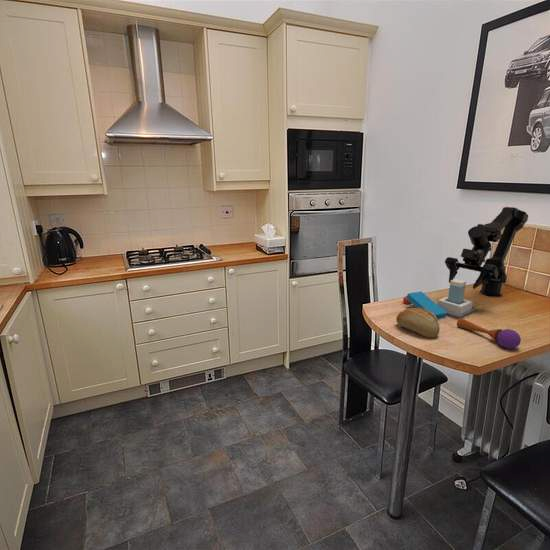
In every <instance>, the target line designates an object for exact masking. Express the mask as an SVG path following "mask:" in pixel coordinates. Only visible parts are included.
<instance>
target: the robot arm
mask: <svg viewBox="0 0 550 550" xmlns="http://www.w3.org/2000/svg"><path fill="white" fill-rule="evenodd" d="M528 220H529V214H528V213H527V212H526V211H523V210H521V209H519V208H517V207H510V206H505V207H502V210H501V211H500V212H499V214H497V216H495V218H494V219H493V220H491V222H489V223H485V224H482V223H478V224H477V225H476V226H472V227H471V228H470V229H469V228H468V229H469V230H468V231H467V234H468V237H469V240H470V242H471V244H472V246H473V247H472V248H471V249H468V248H462V251H461V254H460V257H461V258H462V262H459V260H458V258H455V257H450V256H447V257H446V259H445V261H444V263H445V266H446V267H447V269H448V271H449V275H448V276H449V277H448V283H449V284H450V281H451V280H454V279H455V277H456V276H457V274H458V270H460V268H461V269H464V270H469V271H474V272H479V275H478V277H477V279H475V282H474V283H473V285H472V289H473V290H475V289H477V288H478V287H480V286H481V290H479V292H480V293H482V294H483V295H485V296H487V297H502V296H503V294H502V293H501V291H502V286H503V285H502V284H506V282H507V279H508V276H507V272H506V266H505V260H506V257H507V255H508V253H509V250H510V248H511V245H512V243H513V241H514V239H515V236H516V233H517V232H518V231H520V230H522V229H523V228H524V226H525V224H526V223H527V222H528ZM502 230H503V231H502ZM497 242H498V243H497ZM492 243H497V246H496V248H495V250H494V252H493V255H492V257H490V258H487V256H488V253H489V252H491V251H492ZM483 263H484V264H483Z"/></svg>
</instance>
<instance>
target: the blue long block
mask: <svg viewBox="0 0 550 550" xmlns="http://www.w3.org/2000/svg"><path fill="white" fill-rule="evenodd" d="M402 302H403V304H404V305H410V304H412V305H413V307H421V308H425V309H427V310H429V311H431V312H432V313H433V314H434V315H435V316H436V318H437V320H438V318H439V319H444V318H446V317H447V316H446V315H447V312H446V311H445V310H443V309H442V308H441V307H440V306H439V305H438V303H436V302H435V301H434V300H433V299H431V298H430V297H429V296H428V295H426V294H425V292H423V291H416V292H409V293H407V295H406V296H404V297H403V299H402ZM443 317H444V318H443Z"/></svg>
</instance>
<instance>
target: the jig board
mask: <svg viewBox="0 0 550 550" xmlns="http://www.w3.org/2000/svg"><path fill="white" fill-rule="evenodd" d="M437 305H439V306H440V307H441V308H442V309H443V310H445V311H446V312H447V315H446V317H449V316H450V317H449V318H452V317H453V318H452V319H455V318H456V320H458V319H460V318H462V319H464V318H466V317H468V316H470V315H472V314H474V313H476V312H478V308H477V307H475V306H473V301H472V300H468V299H465V298H464V299H463V303H462V304H460V305H458V304H455V303H451V302H448V295H447V296H445V297H442V298H440V299H438V301H437ZM469 314H470V315H469ZM465 316H466V317H465ZM463 317H464V318H463Z"/></svg>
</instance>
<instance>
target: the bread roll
mask: <svg viewBox="0 0 550 550" xmlns="http://www.w3.org/2000/svg"><path fill="white" fill-rule="evenodd" d="M396 323H397V325H399V326H400V327H403V328H405V329H407V330H409V331H412V332H413V333H416V334H419V335H421V336H423V337H425V338H430V339H431V338H432V339H433V338H437V337H438V336H439V333H440V328H441V327H440V323H439V320H438V319H437V318H436V316H435V315H434V314H433V313H432V312H431V311H429V310H427V309H425V308H421V307H415V306H412V307H407V308H405V309H404V310H402V311H400V312H399V313H398V315H397V316H396Z"/></svg>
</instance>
